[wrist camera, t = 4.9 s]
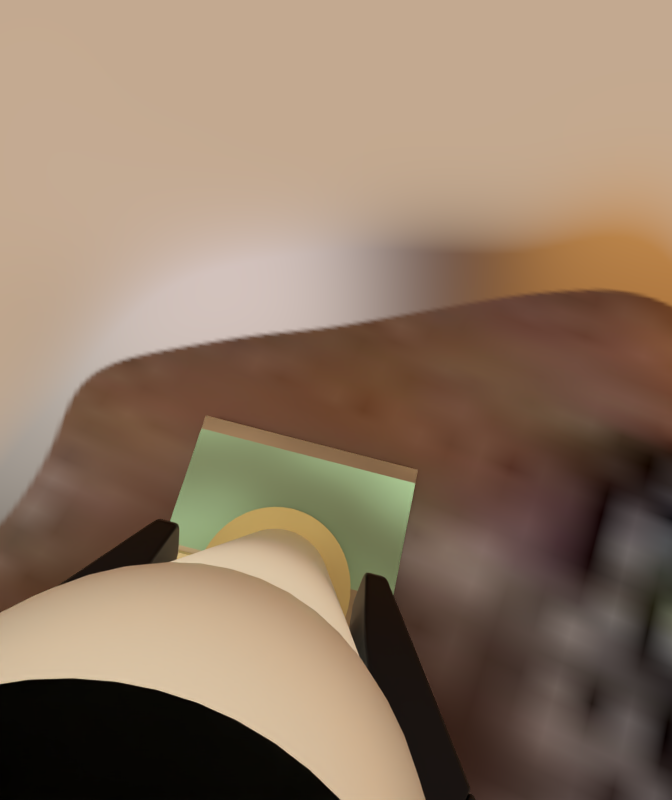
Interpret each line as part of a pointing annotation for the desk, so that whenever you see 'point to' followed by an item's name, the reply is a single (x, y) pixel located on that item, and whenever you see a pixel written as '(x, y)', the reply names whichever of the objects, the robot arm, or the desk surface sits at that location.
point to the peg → (200, 679)
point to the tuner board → (297, 494)
